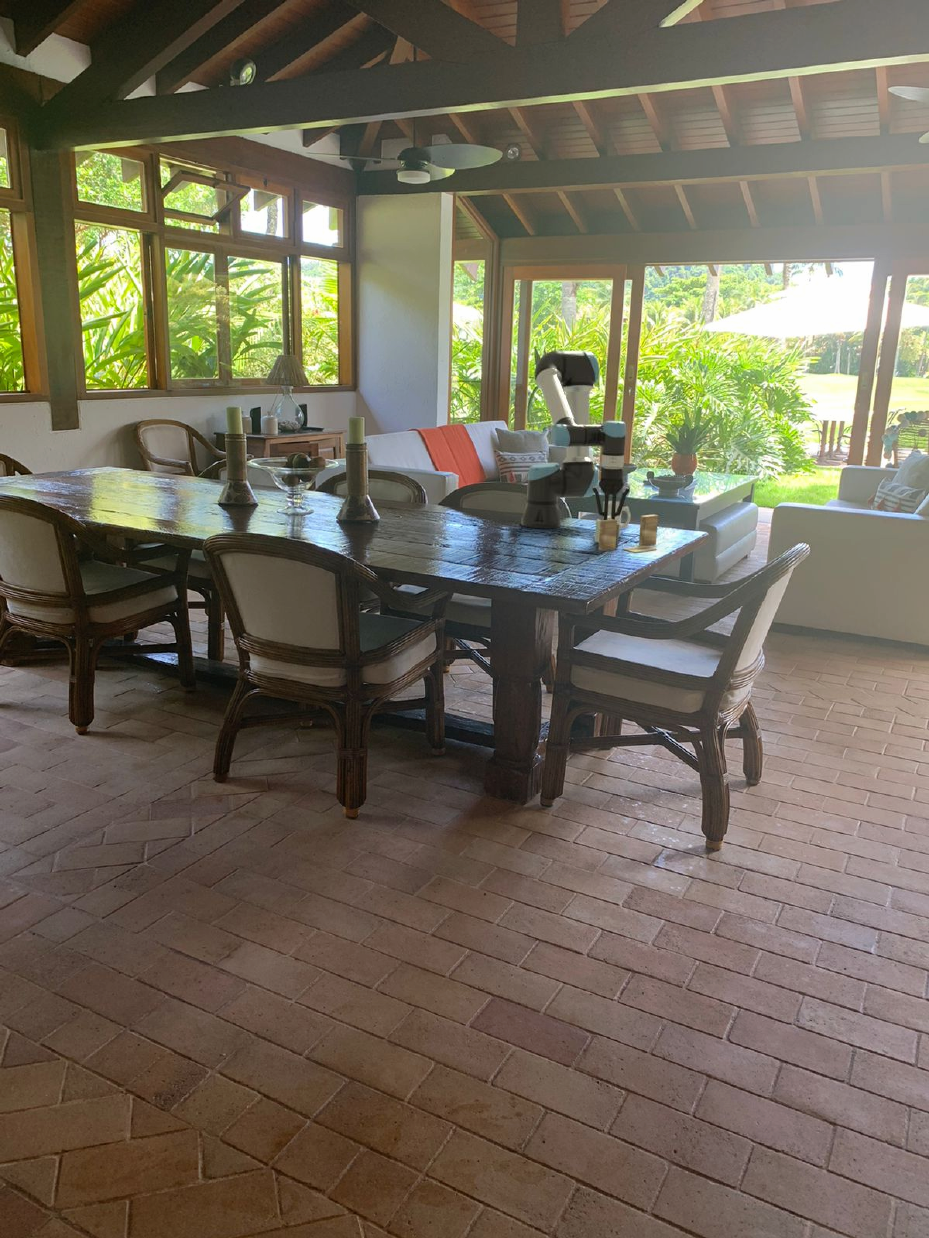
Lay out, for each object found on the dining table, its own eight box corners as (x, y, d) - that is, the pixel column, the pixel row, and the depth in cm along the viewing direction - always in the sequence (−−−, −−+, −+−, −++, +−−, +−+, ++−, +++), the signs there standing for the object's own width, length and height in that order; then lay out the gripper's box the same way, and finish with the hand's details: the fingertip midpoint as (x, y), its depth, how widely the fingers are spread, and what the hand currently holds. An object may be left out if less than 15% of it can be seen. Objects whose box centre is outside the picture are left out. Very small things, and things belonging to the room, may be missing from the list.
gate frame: (598, 550, 313) (600, 520, 310) (651, 542, 327) (653, 514, 324) (618, 555, 306) (620, 525, 303) (671, 547, 320) (674, 518, 317)
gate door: (618, 547, 316) (620, 524, 314) (615, 548, 315) (617, 524, 313) (597, 541, 326) (599, 518, 324) (594, 541, 325) (596, 519, 323)
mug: (599, 536, 337) (602, 503, 334) (603, 533, 343) (605, 500, 340) (627, 538, 334) (630, 505, 330) (630, 535, 340) (633, 502, 337)
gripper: (593, 468, 314) (589, 536, 321) (632, 469, 314) (627, 538, 320) (592, 465, 322) (588, 532, 329) (630, 466, 321) (626, 533, 328)
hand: (608, 535), depth 325 cm, fingers closed
